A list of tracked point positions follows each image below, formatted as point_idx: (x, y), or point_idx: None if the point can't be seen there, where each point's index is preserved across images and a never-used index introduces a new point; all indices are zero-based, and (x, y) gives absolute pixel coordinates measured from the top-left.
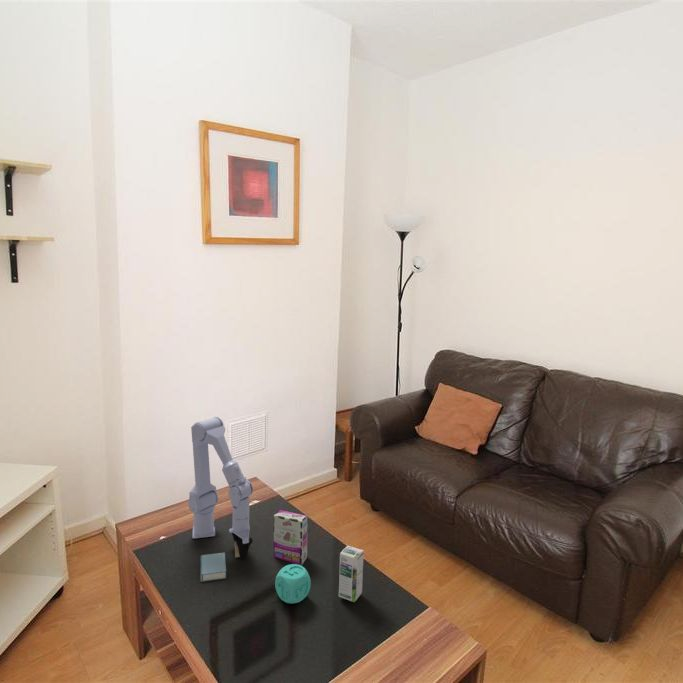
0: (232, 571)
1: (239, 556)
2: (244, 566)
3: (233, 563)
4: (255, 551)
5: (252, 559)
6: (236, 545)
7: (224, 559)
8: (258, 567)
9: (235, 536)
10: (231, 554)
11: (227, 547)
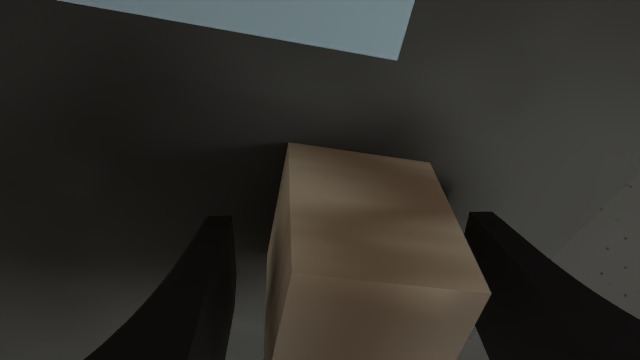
0: (31, 54)
1: (280, 211)
2: (119, 204)
3: (225, 106)
4: None
5: None
6: (328, 294)
7: (165, 5)
8: (68, 309)
9: (554, 351)
10: (440, 126)
11: (623, 115)
